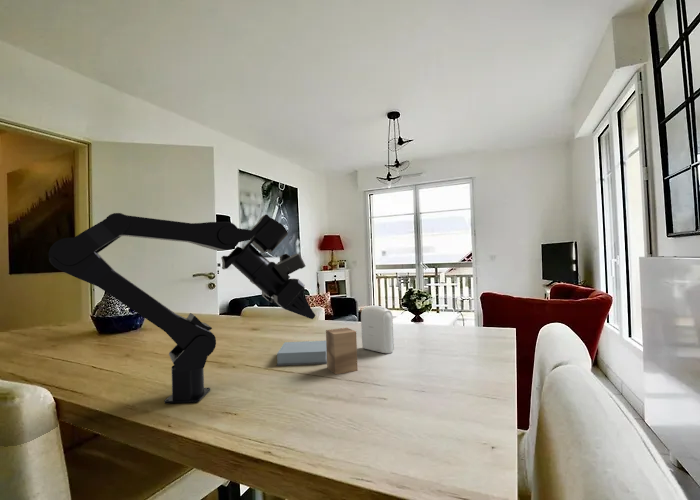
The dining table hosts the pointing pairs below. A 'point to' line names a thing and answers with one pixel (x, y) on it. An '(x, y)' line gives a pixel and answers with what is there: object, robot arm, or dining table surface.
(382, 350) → the photo printer
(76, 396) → the dining table surface
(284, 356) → the plinth
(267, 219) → the robot arm
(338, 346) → the walnut block
